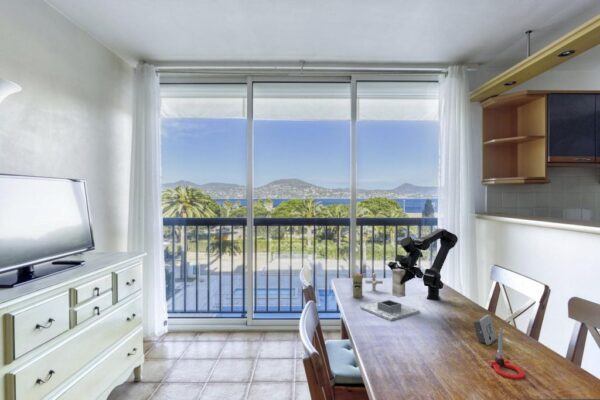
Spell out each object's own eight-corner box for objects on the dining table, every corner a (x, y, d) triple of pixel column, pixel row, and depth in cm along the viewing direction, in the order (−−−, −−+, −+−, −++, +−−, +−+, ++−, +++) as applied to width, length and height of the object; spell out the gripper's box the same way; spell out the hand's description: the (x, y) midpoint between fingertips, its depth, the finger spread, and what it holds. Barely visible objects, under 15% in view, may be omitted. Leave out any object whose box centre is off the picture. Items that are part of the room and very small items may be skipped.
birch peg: (398, 293, 173) (398, 268, 173) (405, 296, 169) (405, 270, 169) (392, 295, 171) (392, 269, 170) (399, 297, 167) (399, 271, 167)
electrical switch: (488, 346, 127) (486, 321, 128) (474, 343, 131) (471, 318, 132) (497, 338, 134) (494, 315, 134) (483, 336, 137) (481, 312, 138)
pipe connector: (381, 288, 205) (381, 271, 205) (383, 293, 195) (383, 275, 195) (364, 287, 206) (364, 271, 206) (366, 292, 196) (366, 275, 196)
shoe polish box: (362, 297, 187) (362, 276, 186) (353, 297, 188) (353, 275, 187) (362, 295, 191) (362, 273, 191) (353, 294, 192) (353, 273, 192)
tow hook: (531, 379, 105) (509, 363, 114) (532, 339, 104) (510, 326, 113) (506, 382, 104) (486, 365, 113) (508, 341, 103) (487, 328, 112)
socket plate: (388, 301, 180) (388, 294, 180) (419, 312, 163) (419, 305, 163) (360, 308, 169) (360, 301, 169) (390, 320, 153) (390, 313, 153)
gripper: (390, 246, 180) (375, 269, 174) (419, 251, 164) (404, 277, 158) (400, 259, 184) (385, 282, 178) (429, 265, 168) (415, 291, 162)
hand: (396, 283), depth 169 cm, fingers closed on birch peg, 4 cm apart
